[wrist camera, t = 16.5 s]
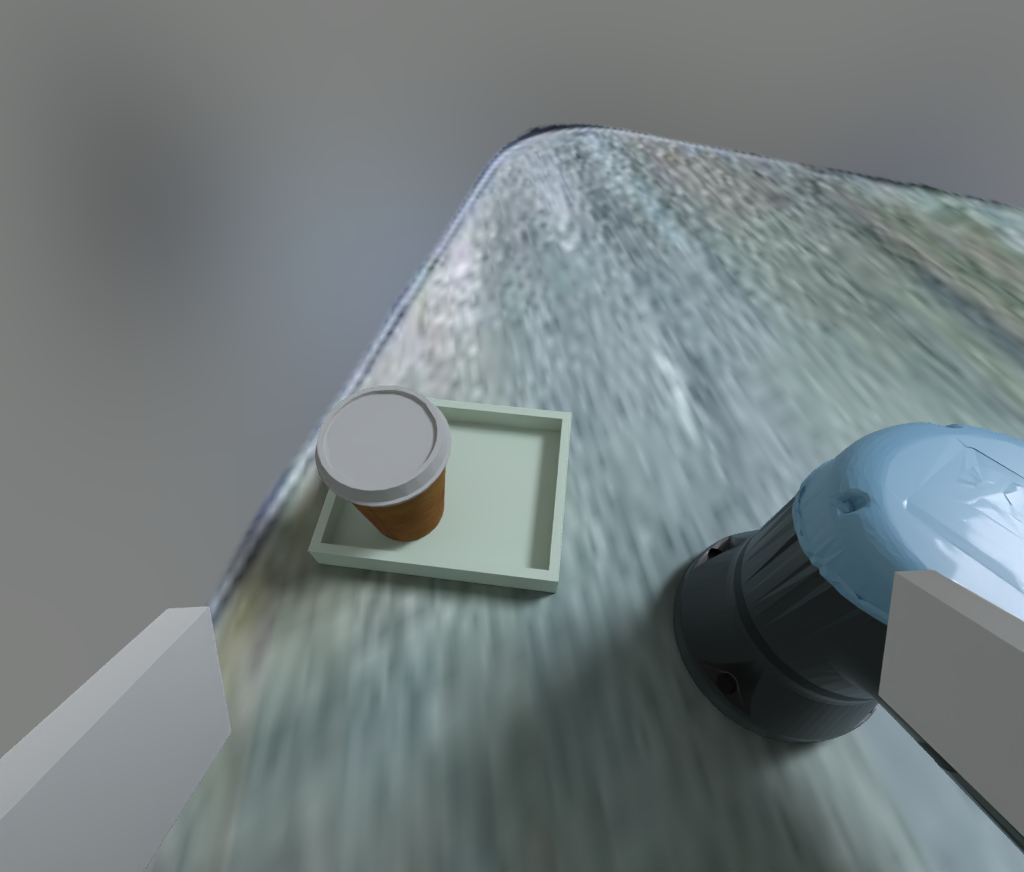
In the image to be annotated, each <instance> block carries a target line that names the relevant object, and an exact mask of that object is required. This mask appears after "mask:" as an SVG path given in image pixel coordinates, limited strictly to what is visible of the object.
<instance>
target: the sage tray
mask: <svg viewBox="0 0 1024 872" xmlns="http://www.w3.org/2000/svg"><path fill="white" fill-rule="evenodd" d="M427 399H428V400H429V401H430V402H431V403H433V404H434V405H435V406H436V407H437V408H438V409H439V410H440V411H441V412H442V414H443V415H444V417H445V418H446V420H447V422H448V425H449V427H450V433H451V439H452V440H451V451H450V455H449V458H448V462H447V464H446V473H445V496H444V512H443V516H442V518H441V520H440V522H439V524H438V525H437V526H436V528H435V529H434V530H432V531H431V532H430V533H429V534H428V535H426V536H424V537H423V538H420V539H417V540H414V541H409V542H402V541H396V540H392V539H390V538H387V537H386V536H385V535H383V534H382V533H381V532H380V531H379V530H378V529H377V528H376V527H375V526H374V525H373V524H372V523H371V522H370V521H369V520H368V519H367V518H366V517H365V516H364V515H363V514H362V513H361V512H360V511H359V510H358V509H357V508H356V507H355V506H354V505H353V504H352V503H351V502H348V501H347V500H345V499H343V498H341V497H339V496H337V495H336V494H335V493H333V492H332V491H331V490H330V489H329V490H328V493H327V496H326V499H325V502H324V505H323V507H322V510H321V513H320V516H319V519H318V522H317V525H316V528H315V531H314V534H313V537H312V539H311V542H310V545H309V548H308V552H309V553H310V554H311V555H312V556H313V557H314V559H315V560H316V561H317V562H318V563H319V564H327V565H335V566H343V567H351V568H359V569H367V570H375V571H383V572H391V573H399V574H408V575H416V576H424V577H432V578H440V579H448V580H456V581H464V582H472V583H480V584H488V585H496V586H504V587H512V588H520V589H528V590H536V591H544V592H553V593H556V590H557V586H558V581H559V568H560V555H561V542H562V529H563V517H564V504H565V491H566V478H567V465H568V452H569V439H570V427H571V414H572V413H569V412H559V411H549V410H539V409H530V408H520V407H510V406H500V405H490V404H481V403H471V402H461V401H451V400H441V399H432V398H427Z"/></svg>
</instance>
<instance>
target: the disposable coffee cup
mask: <svg viewBox="0 0 1024 872" xmlns="http://www.w3.org/2000/svg"><path fill="white" fill-rule="evenodd" d="M451 440H452V439H451V433H450V427H449V425H448V422H447V420H446V418H445V417H444V415H443V414H442V412H441V411H440V410H439V409H438V408H437V407H436V406H435V405H434V404H433V403H431V402H430V401H429V400H428V399H427V398H426V397H424V396H423V395H421V394H419V393H417V392H415V391H414V390H412V389H408V388H404V387H400V386H376V387H372V388H368V389H363V390H361V391H358V392H356V393H354V394H352V395H350V396H348V397H347V398H345V399H344V400H342V401H341V402H339V403H338V404H337V405H336V406H335V407H334V408H333V409H332V411H331V412H330V413H329V414H328V415H327V416H326V418H325V420H324V422H323V424H322V425H321V427H320V431H319V434H318V440H317V446H316V453H315V458H316V465H317V469H318V472H319V475H320V476H321V478H322V480H323V481H324V483H325V484H326V485H327V487H328V488H329V489H330V490H331V491H332V492H333V493H335V494H336V495H337V496H339V497H341V498H343V499H345V500H347V501H348V502H351V503H352V504H353V505H354V506H355V507H356V508H357V509H358V510H359V511H360V512H361V513H362V514H363V515H364V516H365V517H366V518H367V519H368V520H369V521H370V522H371V523H372V524H373V525H374V526H375V527H376V528H377V529H378V530H379V531H380V532H381V533H382V534H383V535H385V536H386V537H387V538H390V539H392V540H396V541H402V542H409V541H414V540H417V539H420V538H423V537H424V536H426V535H428V534H429V533H430V532H431V531H432V530H434V529H435V528H436V526H437V525H438V524H439V522H440V520H441V518H442V516H443V512H444V496H445V473H446V464H447V462H448V458H449V455H450V451H451Z"/></svg>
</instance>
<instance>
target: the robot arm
mask: <svg viewBox="0 0 1024 872" xmlns="http://www.w3.org/2000/svg"><path fill="white" fill-rule="evenodd" d="M674 629H675V636H676V640H677V644H678V647H679V651H680V653H681V656H682V659H683V661H684V663H685V665H686V667H687V669H688V671H689V673H690V675H691V676H692V678H693V680H694V681H695V683H696V684H697V685H698V687H699V688H700V689H701V691H702V692H703V693H704V695H705V696H706V697H707V698H708V699H709V700H710V701H711V702H712V703H713V704H714V705H715V706H716V707H717V708H718V709H719V710H720V711H721V712H722V713H724V714H725V715H726V716H728V717H729V718H730V719H732V720H733V721H734V722H736V723H737V724H739V725H741V726H742V727H744V728H746V729H748V730H750V731H752V732H754V733H757V734H759V735H761V736H764V737H767V738H770V739H774V740H779V741H784V742H793V743H803V742H814V741H823V740H829V739H833V738H837V737H839V736H842V735H845V734H847V733H849V732H851V731H852V730H854V729H856V728H857V727H859V726H860V725H862V724H863V723H864V722H865V721H866V720H867V719H868V718H869V717H870V716H871V715H872V714H873V713H874V711H875V710H876V708H877V707H878V705H879V704H880V705H881V706H882V707H883V708H884V709H885V710H886V711H887V712H888V713H889V714H890V715H891V716H892V717H893V718H894V719H895V720H896V721H897V722H898V723H899V724H900V725H901V726H902V727H903V728H904V729H905V730H906V731H907V732H908V733H909V734H910V735H911V736H912V737H913V738H914V739H915V740H916V741H917V742H918V744H919V745H920V746H921V747H922V748H923V749H924V750H925V751H926V752H927V753H928V754H929V755H930V756H931V757H932V758H933V759H934V760H935V762H936V763H937V764H938V765H939V766H940V767H941V768H942V769H943V770H944V771H945V773H946V774H947V775H948V776H949V777H950V778H951V779H952V780H953V781H954V782H955V783H956V784H957V785H958V786H959V787H960V788H961V789H962V790H963V791H964V792H965V793H966V794H967V795H968V796H969V797H970V799H971V800H972V801H973V802H974V803H975V804H976V805H977V806H978V807H979V808H980V809H981V810H982V811H983V812H984V813H985V814H986V815H987V816H988V817H989V818H990V819H991V820H992V821H993V822H994V823H995V825H996V826H997V827H998V828H999V829H1000V830H1001V831H1002V832H1003V833H1004V834H1005V835H1006V836H1007V837H1008V838H1009V839H1010V840H1011V841H1012V842H1013V843H1014V844H1015V845H1016V846H1017V847H1018V848H1019V849H1020V851H1021V852H1022V853H1023V854H1024V441H1022V440H1019V439H1016V438H1013V437H1011V436H1008V435H1005V434H1002V433H998V432H995V431H991V430H987V429H983V428H978V427H973V426H968V425H961V424H951V425H948V426H940V425H936V424H933V423H924V422H920V423H908V424H901V425H896V426H892V427H888V428H885V429H882V430H879V431H876V432H873V433H871V434H868V435H866V436H864V437H863V438H861V439H859V440H857V441H856V442H854V443H853V444H851V445H850V446H849V447H847V448H846V449H845V450H844V451H843V452H841V453H840V454H839V455H838V456H837V457H835V458H834V459H832V460H830V461H828V462H826V463H824V464H822V465H821V466H819V467H818V468H817V469H815V470H814V471H813V472H812V473H811V474H810V475H809V476H808V477H807V478H806V479H805V480H804V482H803V483H802V484H801V486H800V490H799V491H798V493H797V494H796V496H795V497H793V498H792V499H791V500H790V501H789V502H788V503H787V504H786V505H785V506H784V507H783V508H782V509H781V510H780V511H779V512H778V513H776V514H775V515H774V516H773V517H772V518H771V519H770V520H769V521H768V522H767V523H766V524H765V525H764V526H763V527H762V528H761V529H760V530H754V531H749V532H743V533H738V534H734V535H731V536H728V537H726V538H723V539H721V540H719V541H718V542H716V543H714V544H713V545H711V546H710V547H708V548H707V549H706V550H705V551H703V552H702V553H701V554H700V555H699V556H698V557H697V559H696V560H695V561H694V562H693V563H692V564H691V566H690V567H689V568H688V569H687V571H686V572H685V574H684V576H683V578H682V579H681V582H680V584H679V587H678V590H677V593H676V597H675V603H674ZM230 734H231V726H230V721H229V715H228V709H227V704H226V698H225V692H224V687H223V681H222V675H221V670H220V664H219V658H218V653H217V647H216V641H215V636H214V630H213V624H212V619H211V613H210V607H189V608H169V609H167V610H166V611H164V612H163V614H161V615H160V616H159V617H158V618H157V619H156V620H154V621H153V622H152V623H151V624H150V625H149V626H148V627H147V628H146V629H145V630H143V631H142V632H141V633H140V634H139V635H138V636H137V637H136V638H134V639H133V640H132V641H131V642H130V643H129V644H128V645H127V646H125V647H124V648H123V649H122V650H121V651H120V652H119V653H118V654H117V655H116V656H114V658H112V659H111V660H110V661H109V662H108V663H107V664H105V665H104V666H103V667H102V668H101V669H100V670H99V671H98V672H97V673H95V674H94V675H93V676H92V677H91V678H90V679H89V680H88V681H86V682H85V683H84V684H83V685H82V686H81V687H80V688H79V689H78V690H76V691H75V692H74V693H73V694H72V695H71V696H70V697H69V698H68V699H66V701H64V702H63V703H62V704H61V705H60V706H59V707H58V708H56V710H54V711H53V712H52V713H51V714H50V715H49V716H47V717H46V718H45V719H44V720H43V721H42V722H41V723H40V724H39V725H38V726H36V727H35V728H34V729H33V730H32V731H31V732H30V733H29V734H27V735H26V736H25V737H24V738H23V739H22V740H21V741H20V742H18V743H17V744H16V745H15V746H14V747H13V748H12V749H11V750H10V751H8V752H7V753H6V754H5V755H4V756H3V757H2V758H1V759H0V872H144V871H145V869H146V867H147V866H148V864H149V863H150V861H151V859H152V858H153V856H154V855H155V853H156V851H157V850H158V848H159V847H160V845H161V844H162V842H163V840H164V839H165V837H166V836H167V834H168V832H169V831H170V829H171V828H172V826H173V824H174V823H175V821H176V820H177V818H178V816H179V815H180V813H181V812H182V810H183V809H184V807H185V805H186V804H187V802H188V801H189V799H190V797H191V796H192V794H193V793H194V791H195V789H196V788H197V786H198V785H199V783H200V781H201V780H202V778H203V777H204V775H205V773H206V772H207V770H208V769H209V767H210V766H211V764H212V762H213V761H214V759H215V758H216V756H217V754H218V753H219V751H220V750H221V748H222V746H223V745H224V743H225V742H226V740H227V738H228V737H229V735H230Z"/></svg>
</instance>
